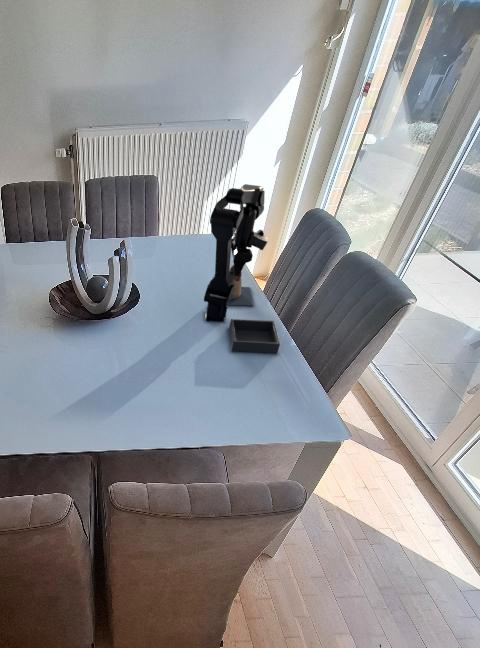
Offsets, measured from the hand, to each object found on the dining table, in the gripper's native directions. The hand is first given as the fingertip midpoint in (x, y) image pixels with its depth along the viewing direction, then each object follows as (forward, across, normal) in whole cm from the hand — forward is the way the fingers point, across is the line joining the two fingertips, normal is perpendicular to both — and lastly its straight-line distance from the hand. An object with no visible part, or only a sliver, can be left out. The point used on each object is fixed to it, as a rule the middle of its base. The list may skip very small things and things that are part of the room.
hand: (236, 270), depth 170 cm
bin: (+10, -32, -5) cm, 34 cm away
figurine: (+10, 0, 0) cm, 10 cm away
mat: (+10, 0, 0) cm, 10 cm away
